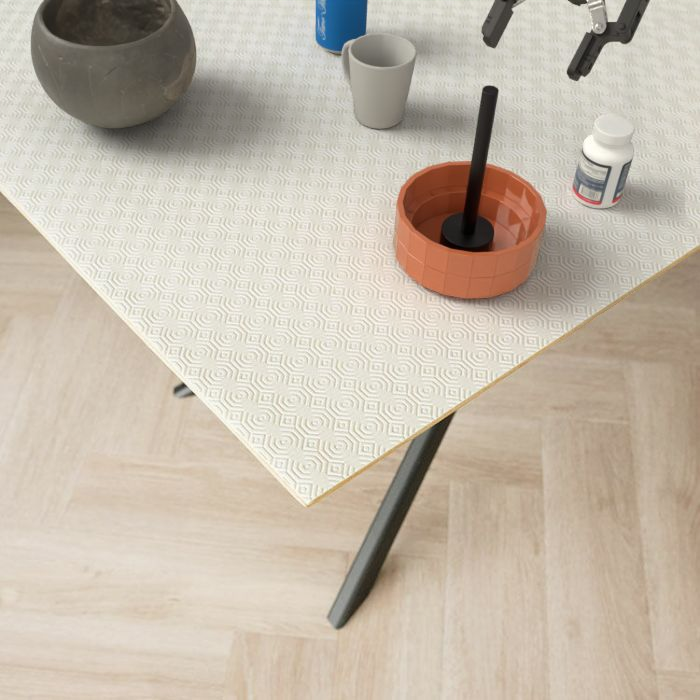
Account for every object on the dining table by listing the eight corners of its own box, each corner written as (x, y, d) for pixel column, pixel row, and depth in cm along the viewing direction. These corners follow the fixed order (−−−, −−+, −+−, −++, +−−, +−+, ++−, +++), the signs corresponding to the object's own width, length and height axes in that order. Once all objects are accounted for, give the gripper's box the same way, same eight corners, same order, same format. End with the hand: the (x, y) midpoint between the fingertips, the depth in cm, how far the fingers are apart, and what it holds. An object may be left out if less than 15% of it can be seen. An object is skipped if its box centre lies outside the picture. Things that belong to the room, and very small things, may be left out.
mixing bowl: (540, 219, 95) (551, 173, 91) (528, 314, 86) (540, 267, 81) (407, 198, 97) (411, 151, 93) (381, 288, 88) (384, 241, 83)
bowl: (186, 59, 114) (174, -41, 105) (216, 141, 103) (206, 37, 93) (40, 79, 110) (14, -22, 101) (55, 167, 99) (28, 61, 89)
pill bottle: (608, 177, 100) (629, 107, 94) (628, 206, 97) (650, 136, 90) (563, 182, 100) (581, 112, 93) (581, 212, 96) (601, 142, 90)
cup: (378, 143, 103) (382, 76, 97) (319, 105, 108) (319, 39, 102) (424, 117, 107) (431, 51, 101) (365, 82, 112) (368, 17, 105)
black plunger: (493, 235, 92) (524, 77, 79) (487, 269, 89) (518, 110, 76) (443, 226, 93) (464, 69, 80) (435, 260, 90) (456, 101, 76)
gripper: (536, -159, 78) (449, 18, 80) (692, -114, 73) (594, 74, 75) (554, -113, 85) (473, 49, 87) (698, -69, 79) (608, 102, 82)
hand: (529, 60), depth 81 cm, fingers open, 8 cm apart
